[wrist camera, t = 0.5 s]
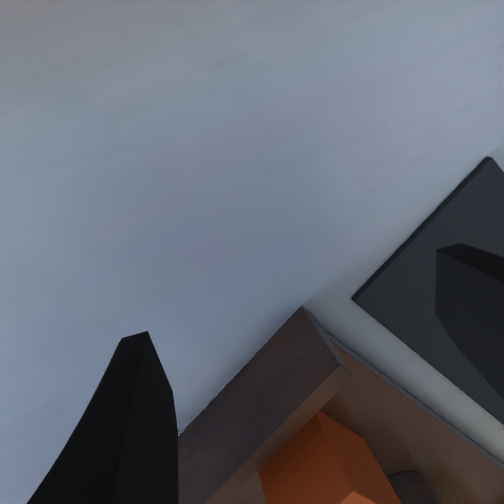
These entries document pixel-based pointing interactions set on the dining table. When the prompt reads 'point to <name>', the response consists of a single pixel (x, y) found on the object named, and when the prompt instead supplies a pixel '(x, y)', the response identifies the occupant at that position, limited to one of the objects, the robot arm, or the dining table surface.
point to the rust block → (325, 468)
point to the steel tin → (414, 488)
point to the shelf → (333, 405)
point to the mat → (424, 279)
